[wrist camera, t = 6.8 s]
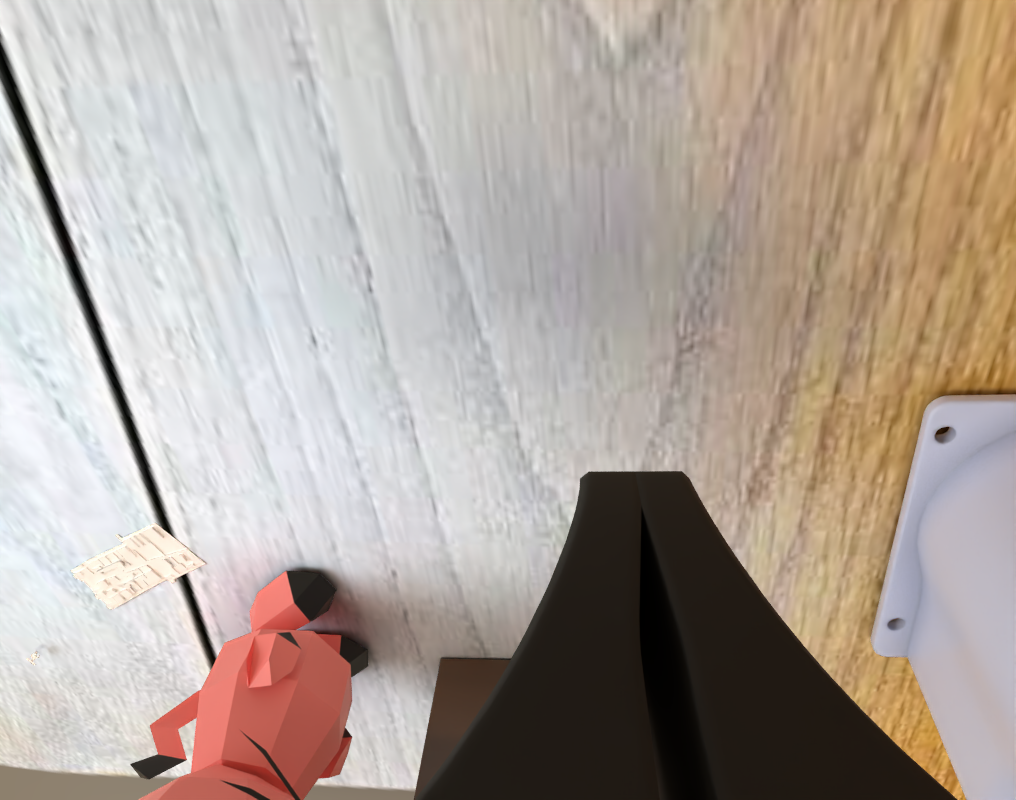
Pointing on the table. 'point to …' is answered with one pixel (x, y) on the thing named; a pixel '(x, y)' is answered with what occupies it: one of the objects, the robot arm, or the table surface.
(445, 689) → the walnut block
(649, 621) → the robot arm
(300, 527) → the table surface
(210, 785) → the cat figurine
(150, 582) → the card
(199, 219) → the table surface
